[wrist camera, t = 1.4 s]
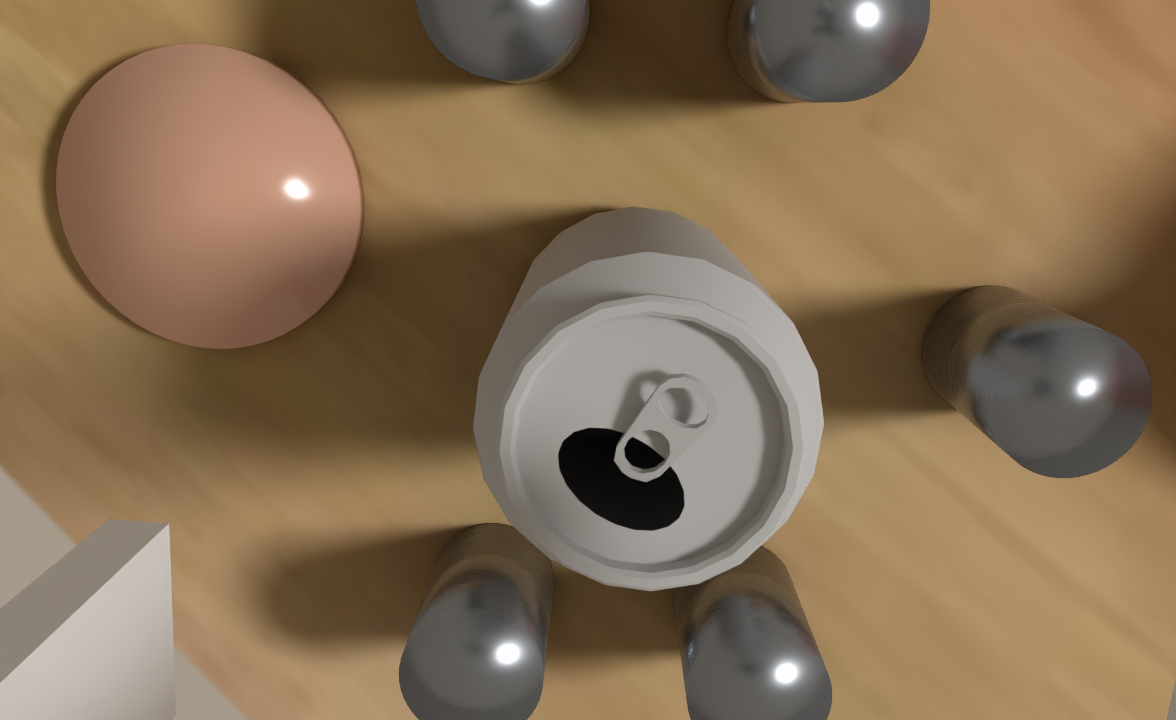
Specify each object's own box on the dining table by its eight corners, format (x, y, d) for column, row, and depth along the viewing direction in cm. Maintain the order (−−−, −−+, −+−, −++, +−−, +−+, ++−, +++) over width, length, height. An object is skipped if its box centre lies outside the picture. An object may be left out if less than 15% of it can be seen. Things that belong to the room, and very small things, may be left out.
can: (468, 352, 32) (390, 495, 20) (605, 154, 30) (605, 184, 19) (661, 481, 33) (691, 689, 21) (803, 295, 31) (921, 409, 20)
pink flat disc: (60, 35, 30) (46, 33, 29) (365, 55, 30) (359, 54, 29) (78, 332, 32) (65, 338, 31) (362, 352, 32) (356, 358, 31)
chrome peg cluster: (454, -66, 29) (416, -109, 23) (1119, -21, 29) (1249, -53, 23) (433, 628, 34) (397, 736, 28) (991, 667, 34) (1070, 782, 28)
